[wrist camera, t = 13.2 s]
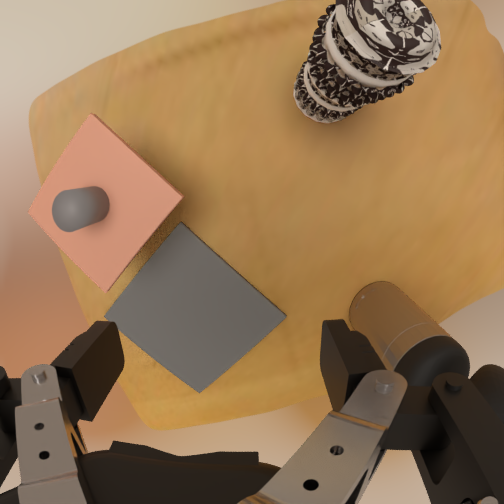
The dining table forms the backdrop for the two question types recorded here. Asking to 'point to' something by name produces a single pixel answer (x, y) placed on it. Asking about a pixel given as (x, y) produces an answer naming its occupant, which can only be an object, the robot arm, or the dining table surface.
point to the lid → (102, 202)
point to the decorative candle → (364, 55)
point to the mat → (193, 310)
